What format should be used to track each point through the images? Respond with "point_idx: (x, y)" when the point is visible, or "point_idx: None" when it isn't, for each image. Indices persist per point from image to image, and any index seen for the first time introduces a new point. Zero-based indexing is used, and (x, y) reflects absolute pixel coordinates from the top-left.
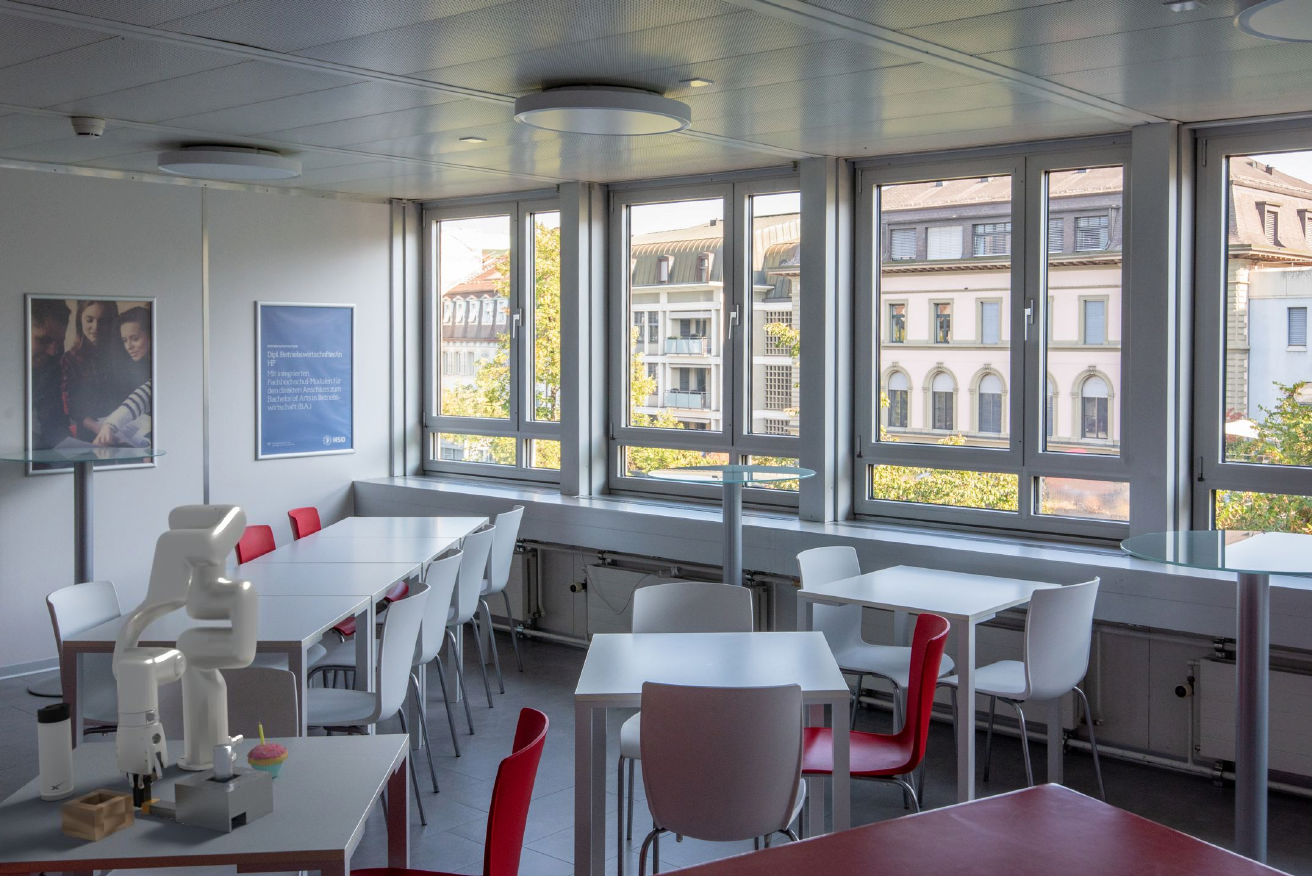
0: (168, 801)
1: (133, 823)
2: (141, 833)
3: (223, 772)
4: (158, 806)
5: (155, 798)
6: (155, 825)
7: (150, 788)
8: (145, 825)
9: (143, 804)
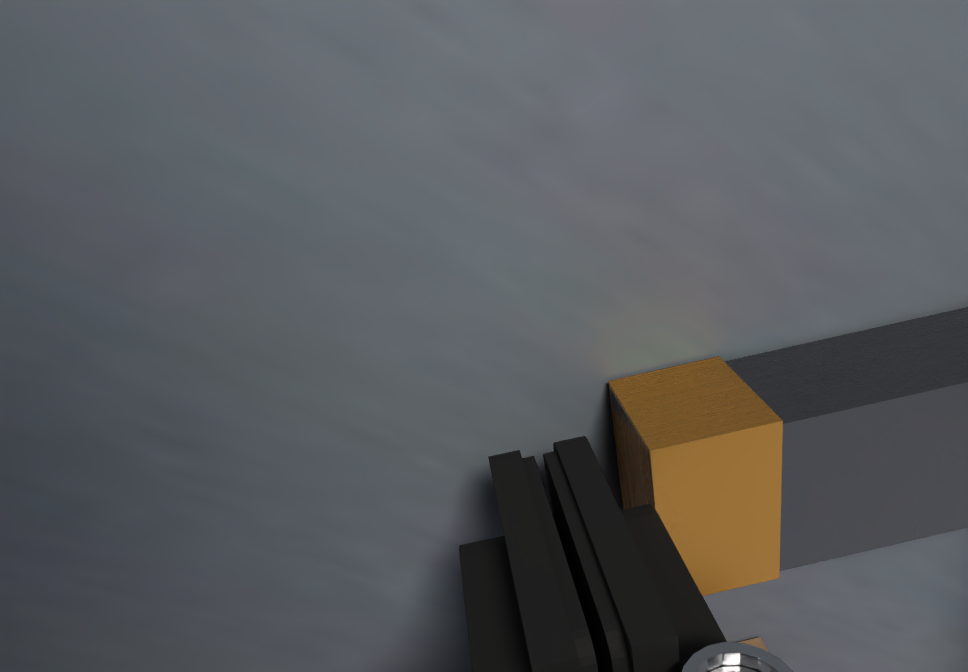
0: (921, 396)
1: (762, 646)
2: (962, 668)
3: None
4: (919, 534)
5: (672, 444)
6: (959, 557)
7: (646, 573)
8: (875, 599)
9: None
